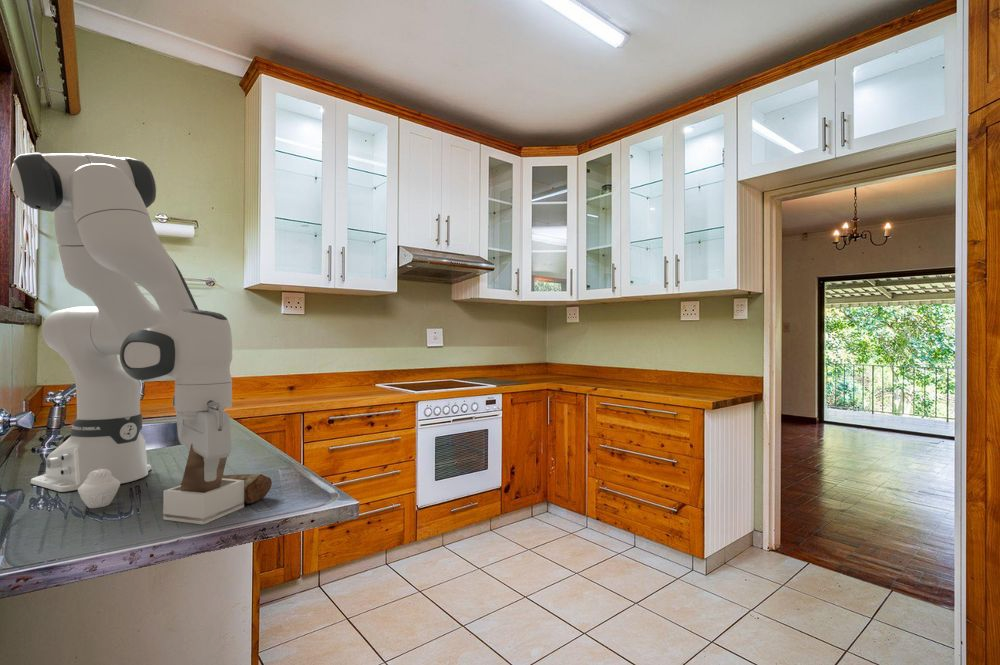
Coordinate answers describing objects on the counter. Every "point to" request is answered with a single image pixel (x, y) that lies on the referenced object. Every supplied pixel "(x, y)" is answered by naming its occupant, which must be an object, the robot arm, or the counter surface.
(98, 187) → the robot arm
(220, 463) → the walnut block
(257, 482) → the bread
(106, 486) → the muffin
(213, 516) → the bin
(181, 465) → the counter surface
